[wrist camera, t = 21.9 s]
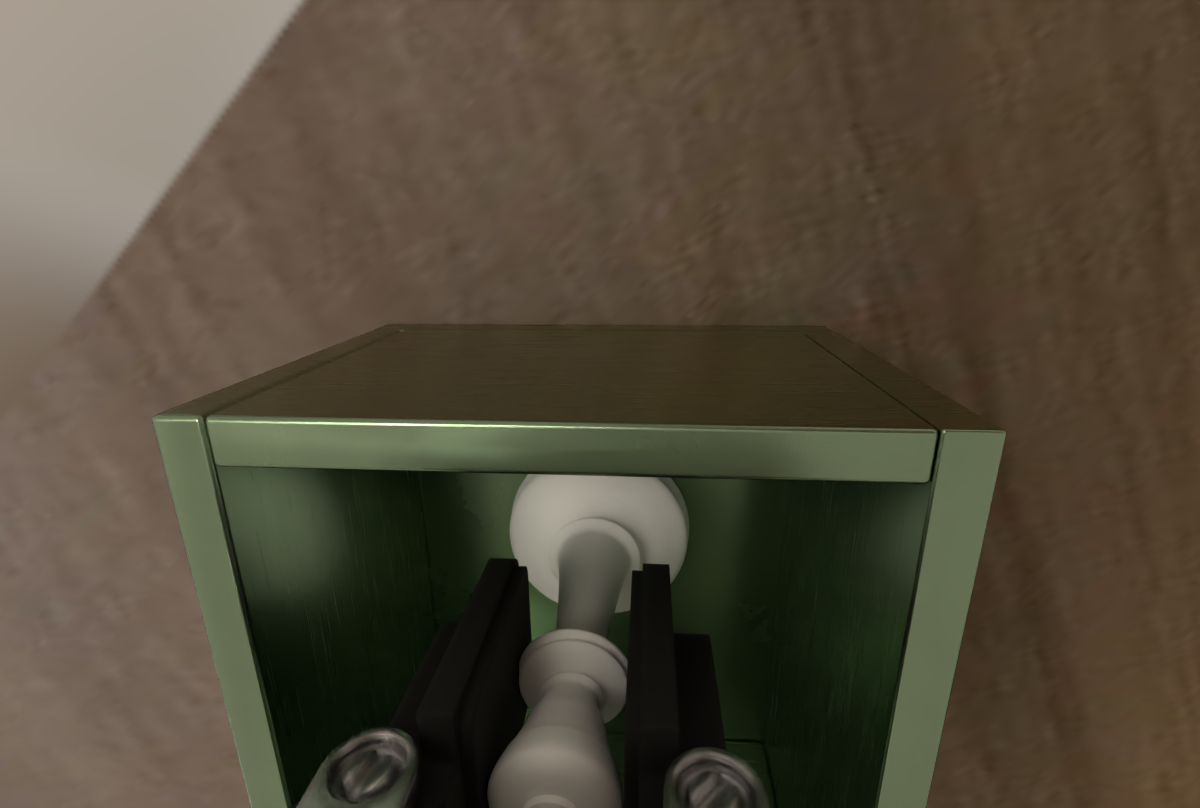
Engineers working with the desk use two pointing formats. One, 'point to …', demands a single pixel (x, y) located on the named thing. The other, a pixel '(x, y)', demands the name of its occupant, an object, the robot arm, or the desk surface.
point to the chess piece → (581, 628)
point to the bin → (592, 448)
